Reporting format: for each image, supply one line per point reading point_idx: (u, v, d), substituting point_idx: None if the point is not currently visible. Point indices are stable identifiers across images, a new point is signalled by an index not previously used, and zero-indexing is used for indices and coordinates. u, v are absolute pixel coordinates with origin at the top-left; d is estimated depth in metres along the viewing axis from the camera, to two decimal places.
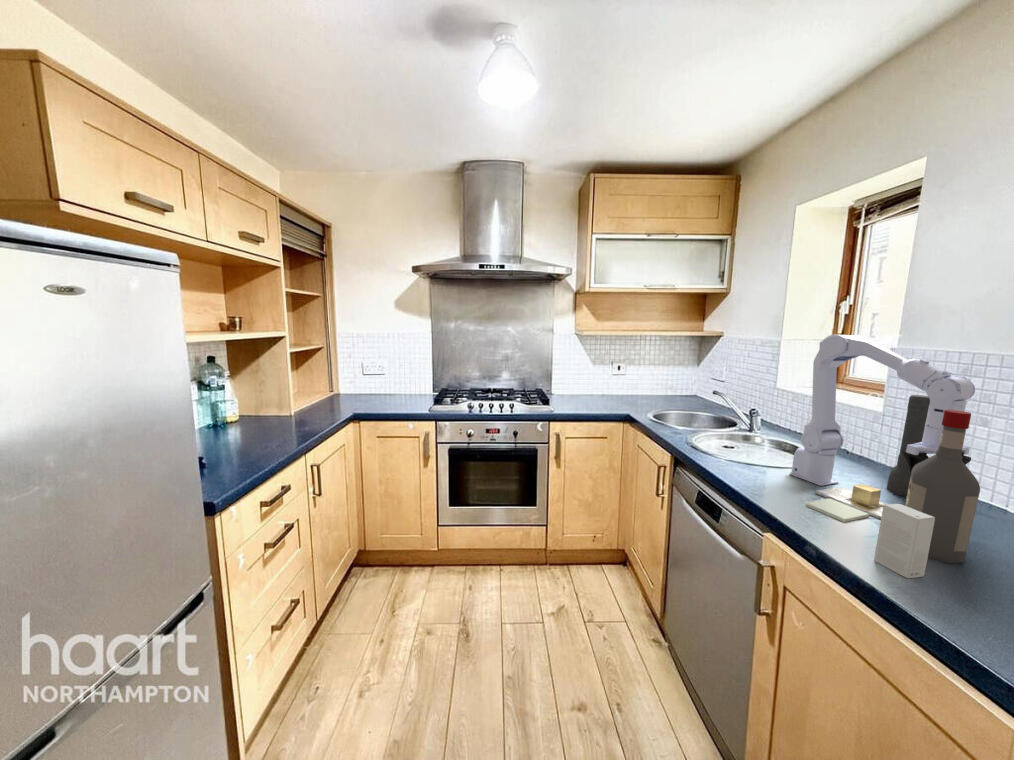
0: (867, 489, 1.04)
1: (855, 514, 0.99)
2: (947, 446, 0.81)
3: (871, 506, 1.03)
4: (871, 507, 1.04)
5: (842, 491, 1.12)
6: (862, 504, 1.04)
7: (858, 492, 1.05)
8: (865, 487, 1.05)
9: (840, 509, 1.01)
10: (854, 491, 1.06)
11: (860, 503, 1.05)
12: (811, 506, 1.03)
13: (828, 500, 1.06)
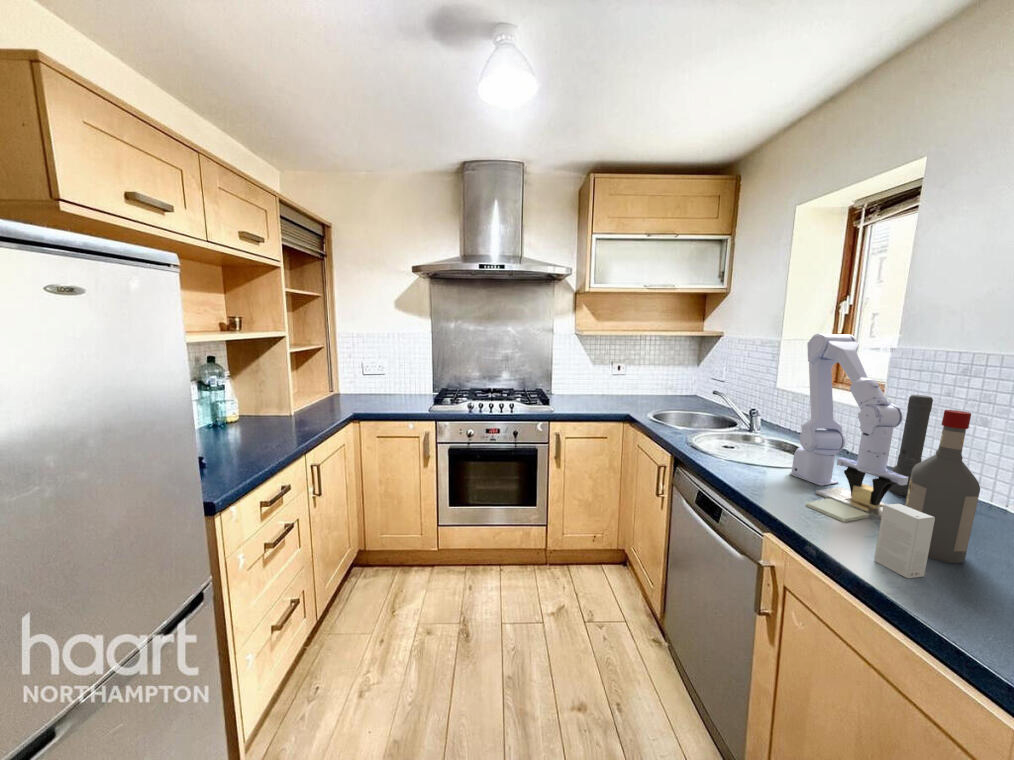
0: (867, 489, 1.04)
1: (855, 514, 0.99)
2: (947, 446, 0.81)
3: (871, 506, 1.03)
4: (871, 507, 1.03)
5: (842, 491, 1.12)
6: (862, 504, 1.04)
7: (858, 492, 1.05)
8: (865, 487, 1.05)
9: (840, 509, 1.01)
10: (854, 491, 1.06)
11: (860, 503, 1.05)
12: (811, 506, 1.03)
13: (828, 500, 1.06)
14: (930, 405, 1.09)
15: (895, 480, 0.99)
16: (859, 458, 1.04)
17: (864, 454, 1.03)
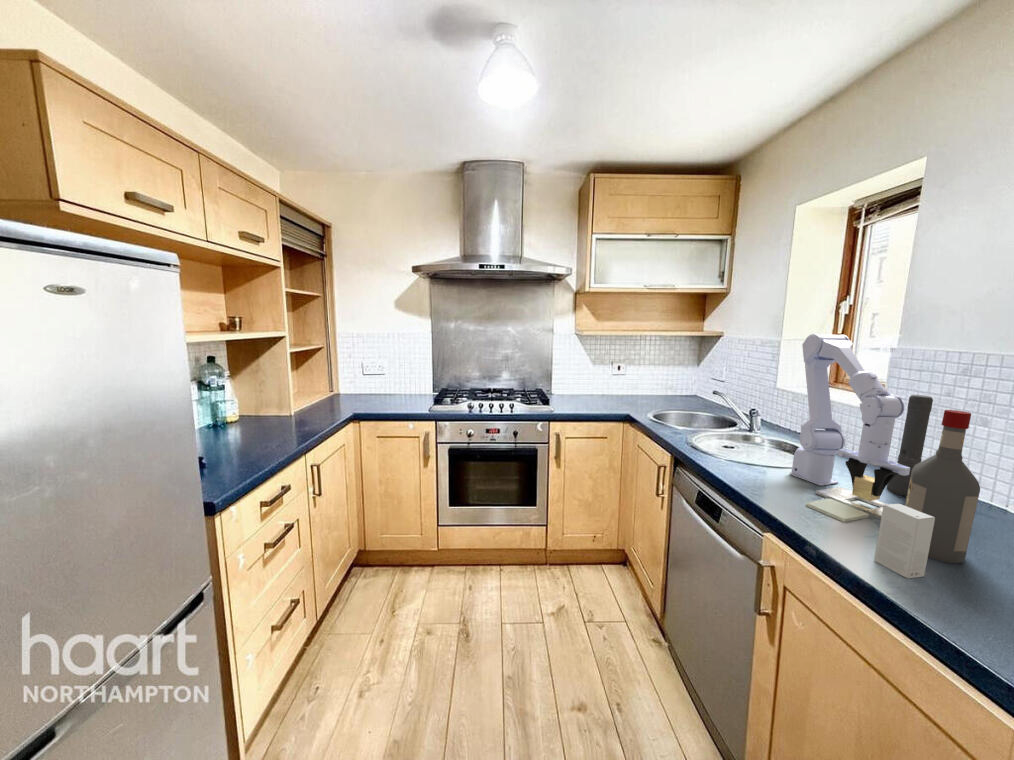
0: (869, 480, 1.04)
1: (855, 514, 0.99)
2: (947, 446, 0.81)
3: (873, 497, 1.03)
4: (873, 498, 1.03)
5: (842, 491, 1.12)
6: (863, 495, 1.04)
7: (859, 483, 1.05)
8: (867, 478, 1.05)
9: (840, 509, 1.01)
10: (855, 482, 1.06)
11: (861, 494, 1.04)
12: (811, 506, 1.03)
13: (828, 500, 1.06)
14: (930, 405, 1.09)
15: (897, 471, 0.99)
16: (861, 449, 1.04)
17: (866, 445, 1.03)
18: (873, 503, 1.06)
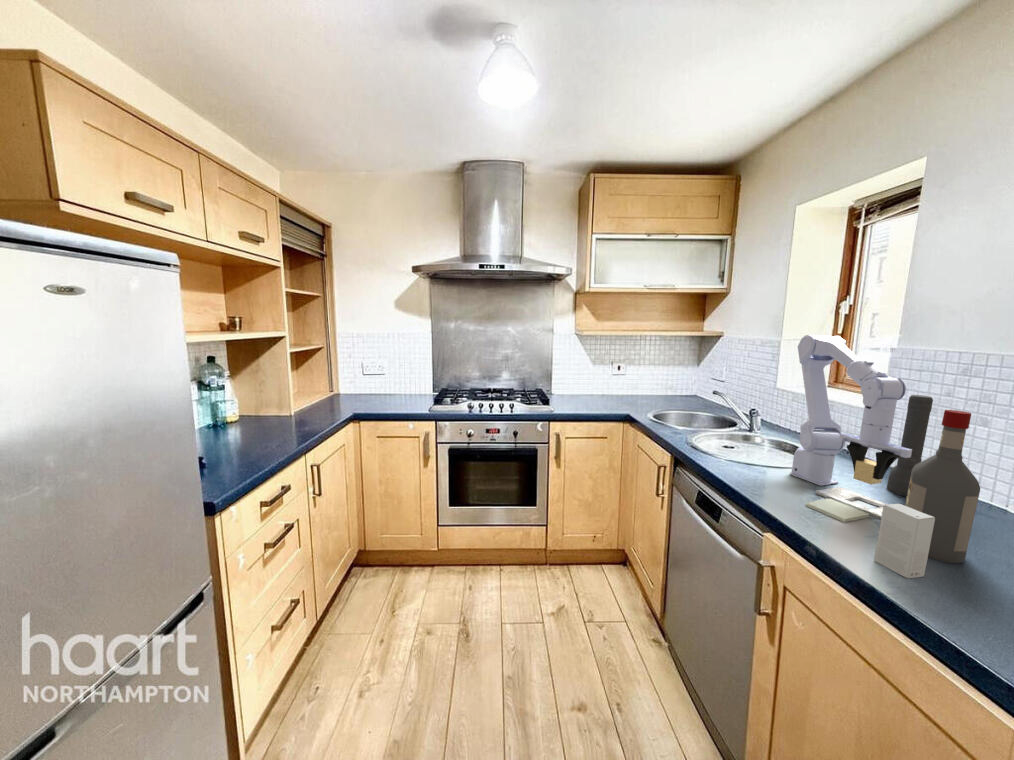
0: (870, 463, 1.03)
1: (855, 514, 0.99)
2: (947, 446, 0.81)
3: (874, 480, 1.02)
4: (874, 481, 1.02)
5: (842, 491, 1.12)
6: (865, 478, 1.03)
7: (861, 466, 1.04)
8: (868, 461, 1.04)
9: (840, 509, 1.01)
10: (857, 466, 1.05)
11: (863, 478, 1.03)
12: (811, 506, 1.03)
13: (828, 500, 1.06)
14: (930, 405, 1.09)
15: (899, 453, 0.98)
16: (862, 432, 1.03)
17: (867, 428, 1.02)
18: (873, 503, 1.06)
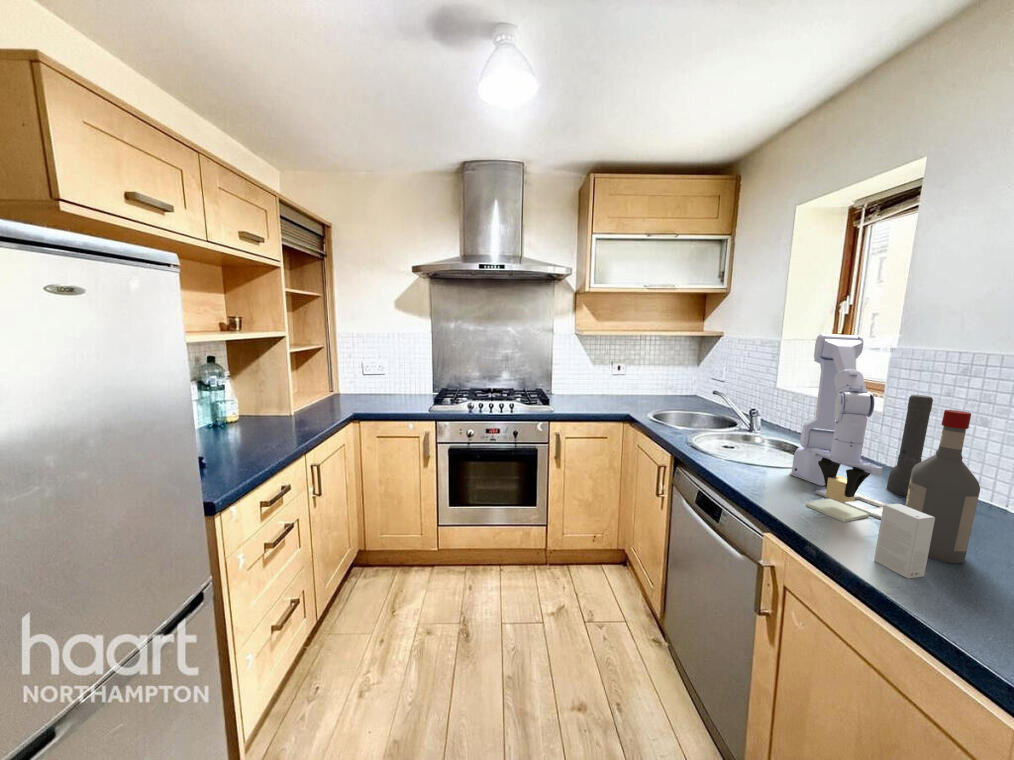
0: (842, 481, 1.00)
1: (855, 514, 0.99)
2: (947, 446, 0.81)
3: (846, 498, 0.99)
4: (846, 499, 0.99)
5: None
6: (837, 496, 1.00)
7: (833, 484, 1.01)
8: (841, 478, 1.01)
9: (840, 509, 1.01)
10: (829, 483, 1.02)
11: (835, 495, 1.01)
12: (811, 506, 1.03)
13: (828, 500, 1.06)
14: (930, 405, 1.09)
15: (869, 471, 0.95)
16: (833, 448, 1.00)
17: (838, 444, 0.99)
18: (873, 503, 1.06)
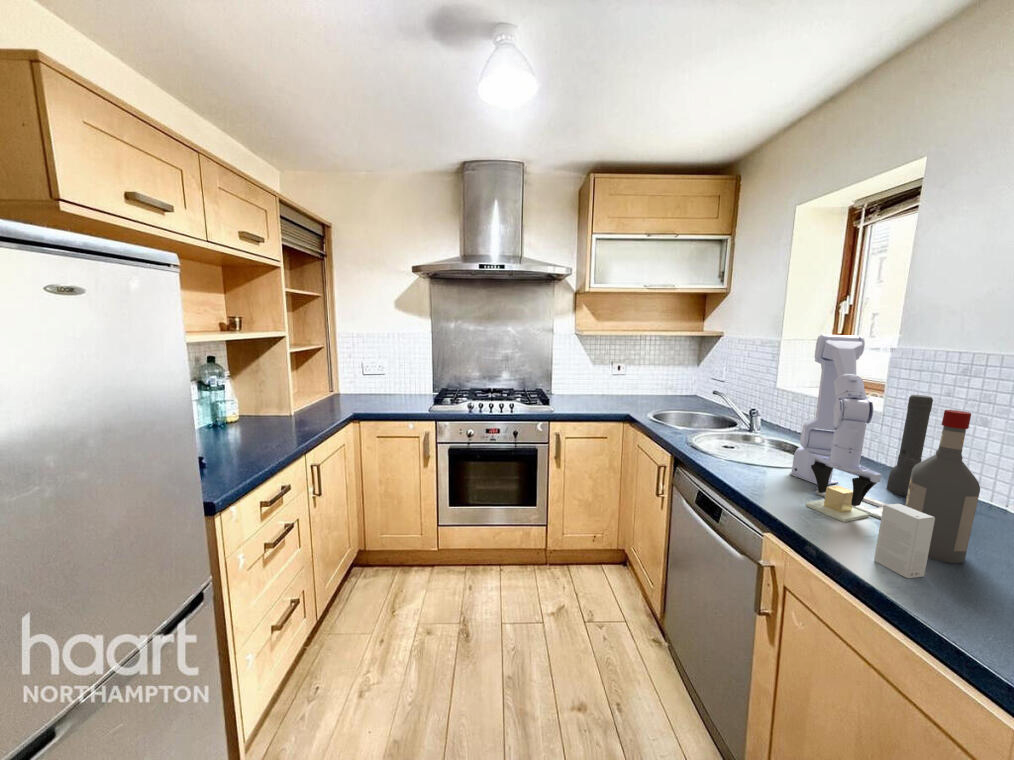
0: (840, 491, 1.00)
1: (855, 514, 0.99)
2: (947, 446, 0.81)
3: (844, 508, 1.00)
4: (844, 509, 1.00)
5: None
6: (835, 506, 1.01)
7: (831, 494, 1.01)
8: (839, 488, 1.02)
9: None
10: (827, 493, 1.02)
11: (833, 505, 1.01)
12: (811, 506, 1.03)
13: None
14: (930, 405, 1.09)
15: (868, 477, 0.95)
16: (832, 454, 1.00)
17: (837, 450, 0.99)
18: (873, 503, 1.06)
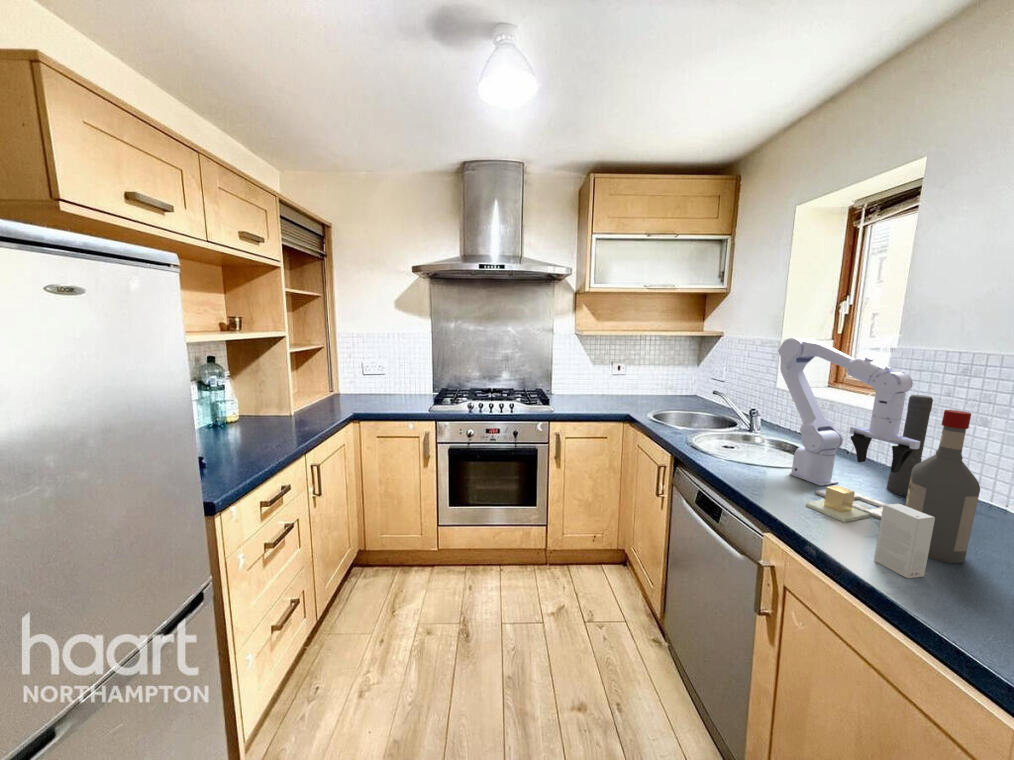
0: (840, 491, 1.00)
1: (855, 514, 0.99)
2: (947, 446, 0.81)
3: (844, 508, 1.00)
4: (844, 509, 1.00)
5: None
6: (835, 506, 1.01)
7: (831, 494, 1.01)
8: (839, 488, 1.02)
9: None
10: (827, 493, 1.02)
11: (833, 505, 1.01)
12: (811, 506, 1.03)
13: None
14: (930, 405, 1.09)
15: (907, 445, 1.02)
16: (872, 425, 1.07)
17: (877, 420, 1.06)
18: (873, 503, 1.06)
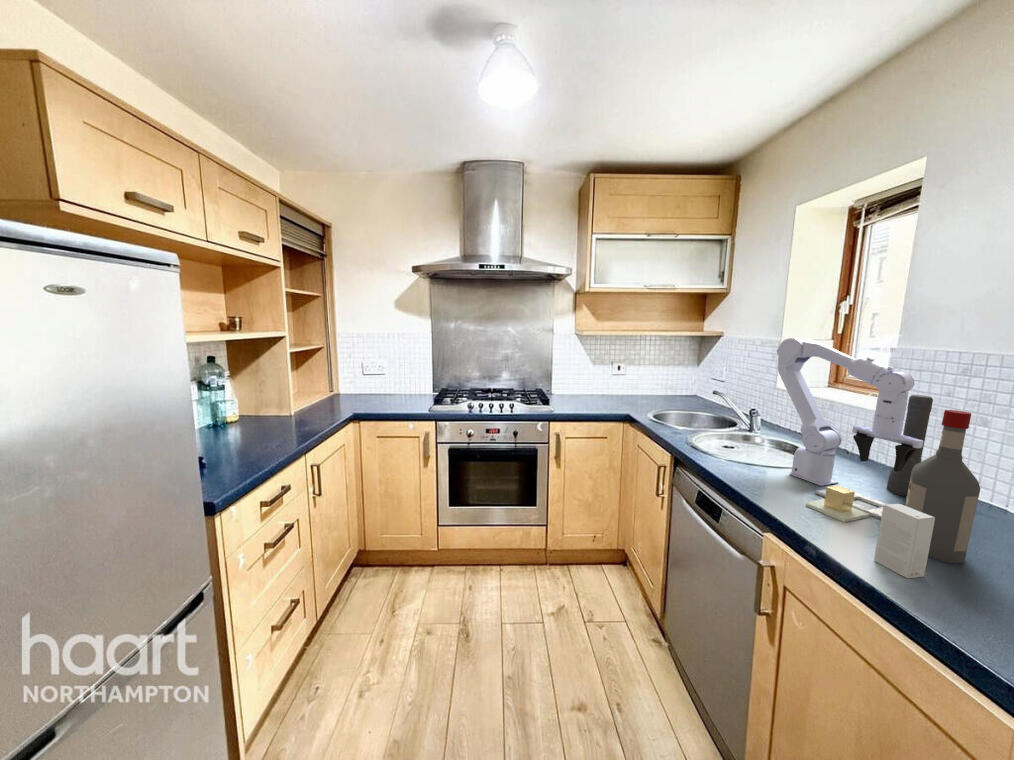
0: (840, 491, 1.00)
1: (855, 514, 0.99)
2: (947, 446, 0.81)
3: (844, 508, 1.00)
4: (844, 509, 1.00)
5: None
6: (835, 506, 1.01)
7: (831, 494, 1.01)
8: (839, 488, 1.02)
9: None
10: (827, 493, 1.02)
11: (833, 505, 1.01)
12: (811, 506, 1.03)
13: None
14: (930, 405, 1.09)
15: (910, 444, 1.02)
16: (875, 424, 1.08)
17: (880, 420, 1.06)
18: (873, 503, 1.06)
